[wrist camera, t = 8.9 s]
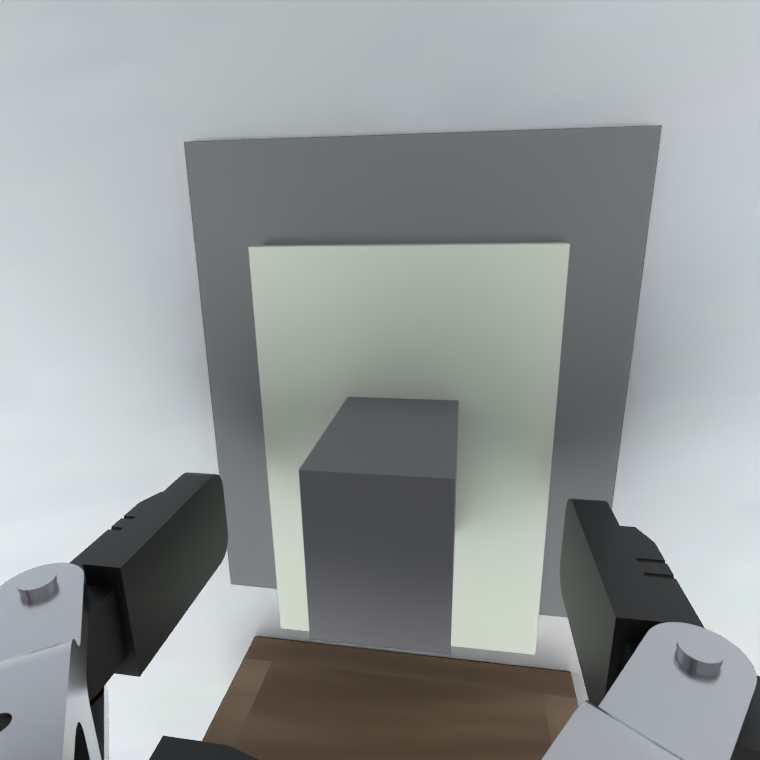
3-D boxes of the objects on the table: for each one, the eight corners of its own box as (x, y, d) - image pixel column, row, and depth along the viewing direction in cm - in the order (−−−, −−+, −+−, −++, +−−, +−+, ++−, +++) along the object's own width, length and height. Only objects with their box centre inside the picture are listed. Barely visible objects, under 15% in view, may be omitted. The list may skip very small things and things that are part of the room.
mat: (191, 143, 15) (183, 141, 14) (655, 128, 13) (661, 125, 12) (235, 576, 19) (231, 584, 18) (594, 611, 17) (597, 620, 16)
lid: (262, 245, 15) (150, 259, 9) (562, 242, 13) (623, 255, 8) (290, 606, 18) (219, 762, 13) (531, 630, 17) (560, 813, 12)
